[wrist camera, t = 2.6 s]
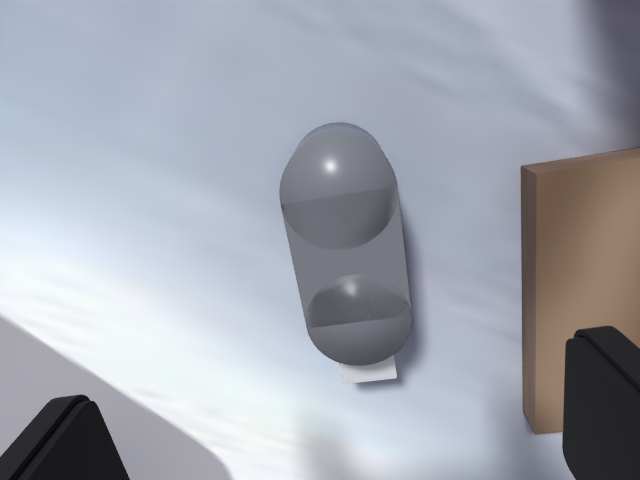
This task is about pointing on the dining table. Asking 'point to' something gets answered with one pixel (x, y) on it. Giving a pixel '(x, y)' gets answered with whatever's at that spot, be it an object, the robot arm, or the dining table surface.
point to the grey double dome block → (348, 249)
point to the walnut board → (575, 266)
